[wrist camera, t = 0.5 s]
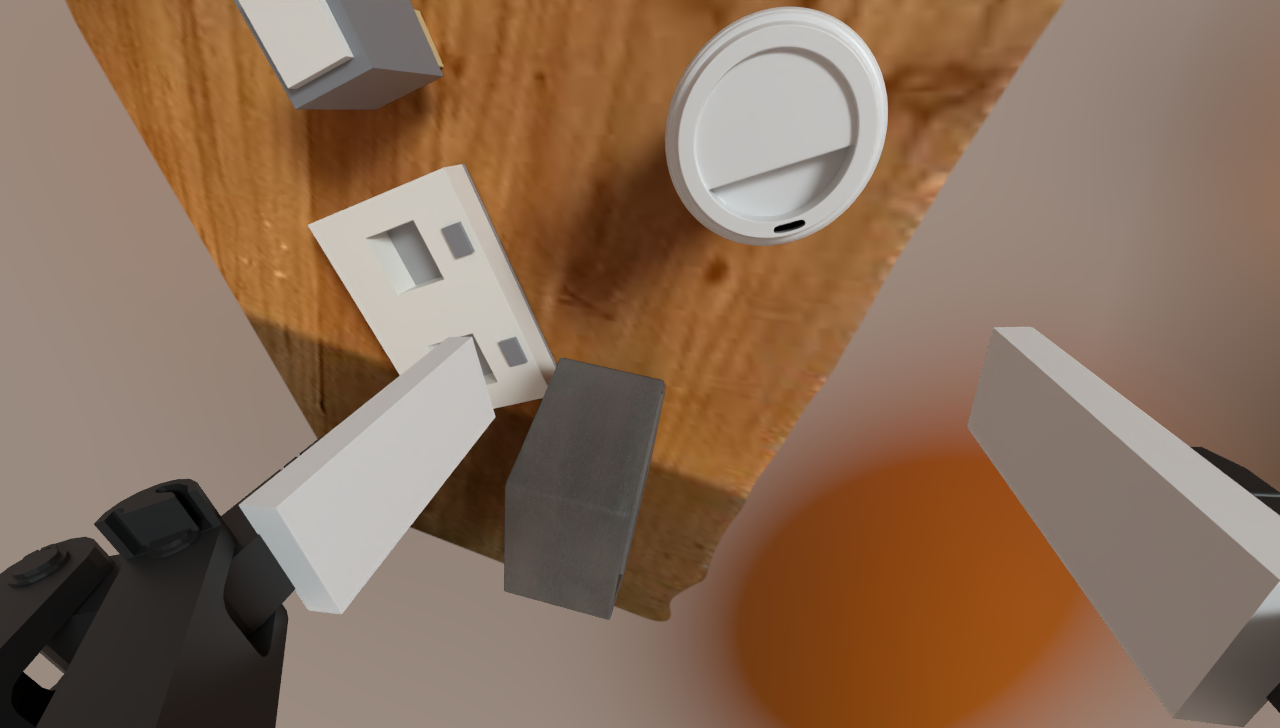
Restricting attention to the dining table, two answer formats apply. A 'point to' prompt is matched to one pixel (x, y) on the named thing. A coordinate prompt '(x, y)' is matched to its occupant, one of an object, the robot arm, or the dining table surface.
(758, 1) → the dining table surface
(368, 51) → the plug
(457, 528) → the dining table surface
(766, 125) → the coffee cup
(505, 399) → the socket plate
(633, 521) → the grey hexagonal prism
